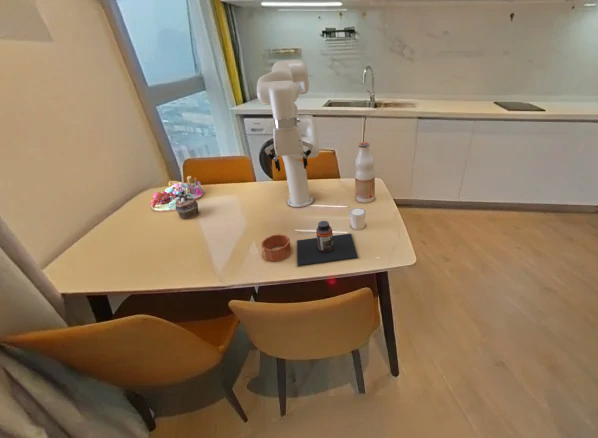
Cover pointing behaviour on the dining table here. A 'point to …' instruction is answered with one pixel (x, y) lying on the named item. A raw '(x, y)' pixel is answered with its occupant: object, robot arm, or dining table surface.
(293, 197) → the robot arm
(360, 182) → the fruit juice
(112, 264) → the dining table surface
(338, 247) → the mat
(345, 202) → the dining table surface
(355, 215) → the white cup
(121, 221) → the dining table surface
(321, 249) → the supplement bottle
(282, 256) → the holder
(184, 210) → the cupcake
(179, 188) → the candy platter
